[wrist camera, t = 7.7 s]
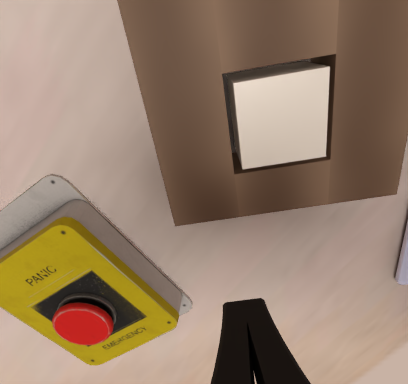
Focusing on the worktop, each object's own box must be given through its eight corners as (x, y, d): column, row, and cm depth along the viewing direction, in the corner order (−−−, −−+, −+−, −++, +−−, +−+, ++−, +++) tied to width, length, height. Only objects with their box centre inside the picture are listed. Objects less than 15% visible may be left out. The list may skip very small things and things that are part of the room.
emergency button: (100, 394, 22) (-86, 280, 16) (115, 341, 26) (-32, 234, 20) (197, 351, 20) (20, 199, 14) (197, 300, 24) (58, 164, 18)
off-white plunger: (303, 60, 15) (329, 66, 12) (303, 135, 17) (325, 156, 14) (226, 74, 15) (233, 83, 12) (234, 146, 17) (242, 169, 14)
